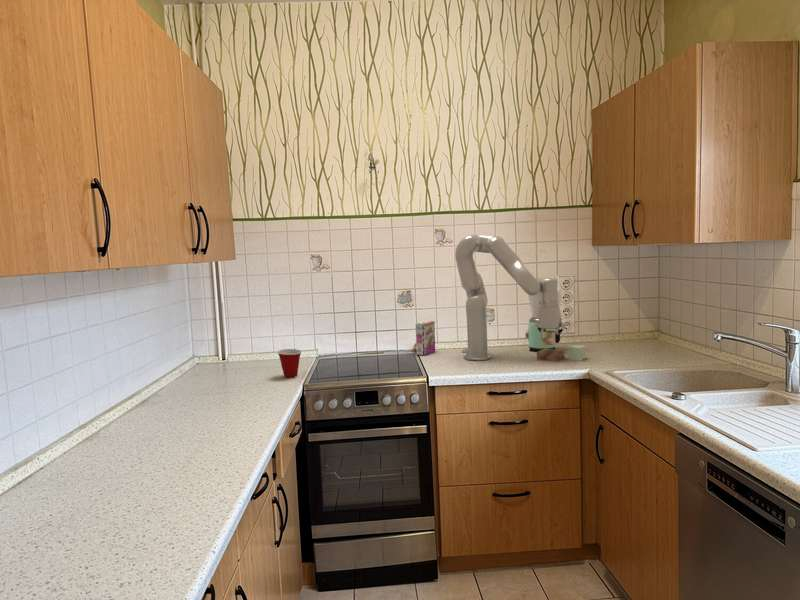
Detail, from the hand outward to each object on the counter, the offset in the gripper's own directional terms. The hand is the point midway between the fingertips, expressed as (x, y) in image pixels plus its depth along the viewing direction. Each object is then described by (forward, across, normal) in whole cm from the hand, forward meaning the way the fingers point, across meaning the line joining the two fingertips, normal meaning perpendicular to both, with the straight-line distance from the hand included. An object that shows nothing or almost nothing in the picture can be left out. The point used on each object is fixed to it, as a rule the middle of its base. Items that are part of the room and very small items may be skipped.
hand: (550, 341), depth 282 cm
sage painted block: (+8, +11, +5) cm, 14 cm away
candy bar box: (+8, -61, -17) cm, 64 cm away
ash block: (+1, 0, 0) cm, 1 cm away
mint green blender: (+8, -12, +17) cm, 22 cm away
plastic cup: (+7, -85, -87) cm, 122 cm away
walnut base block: (+9, 0, 0) cm, 9 cm away
